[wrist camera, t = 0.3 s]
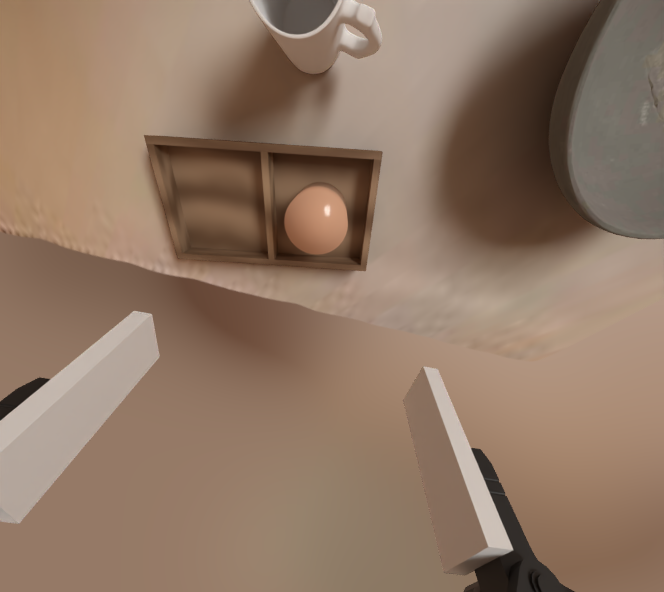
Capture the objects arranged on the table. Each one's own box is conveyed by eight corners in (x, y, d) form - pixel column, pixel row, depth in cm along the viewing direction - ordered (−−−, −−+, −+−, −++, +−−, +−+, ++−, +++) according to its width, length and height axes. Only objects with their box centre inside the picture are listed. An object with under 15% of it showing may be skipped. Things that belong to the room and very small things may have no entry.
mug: (271, 57, 27) (226, 4, 16) (291, -33, 23) (252, -169, 13) (357, 104, 28) (366, 83, 18) (387, 27, 25) (418, -52, 15)
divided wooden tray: (161, 136, 31) (143, 135, 28) (378, 150, 31) (382, 151, 28) (189, 250, 38) (177, 258, 36) (364, 262, 38) (365, 271, 36)
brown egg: (293, 179, 32) (283, 188, 26) (349, 183, 32) (350, 193, 26) (294, 234, 36) (285, 252, 30) (344, 237, 36) (344, 256, 30)
